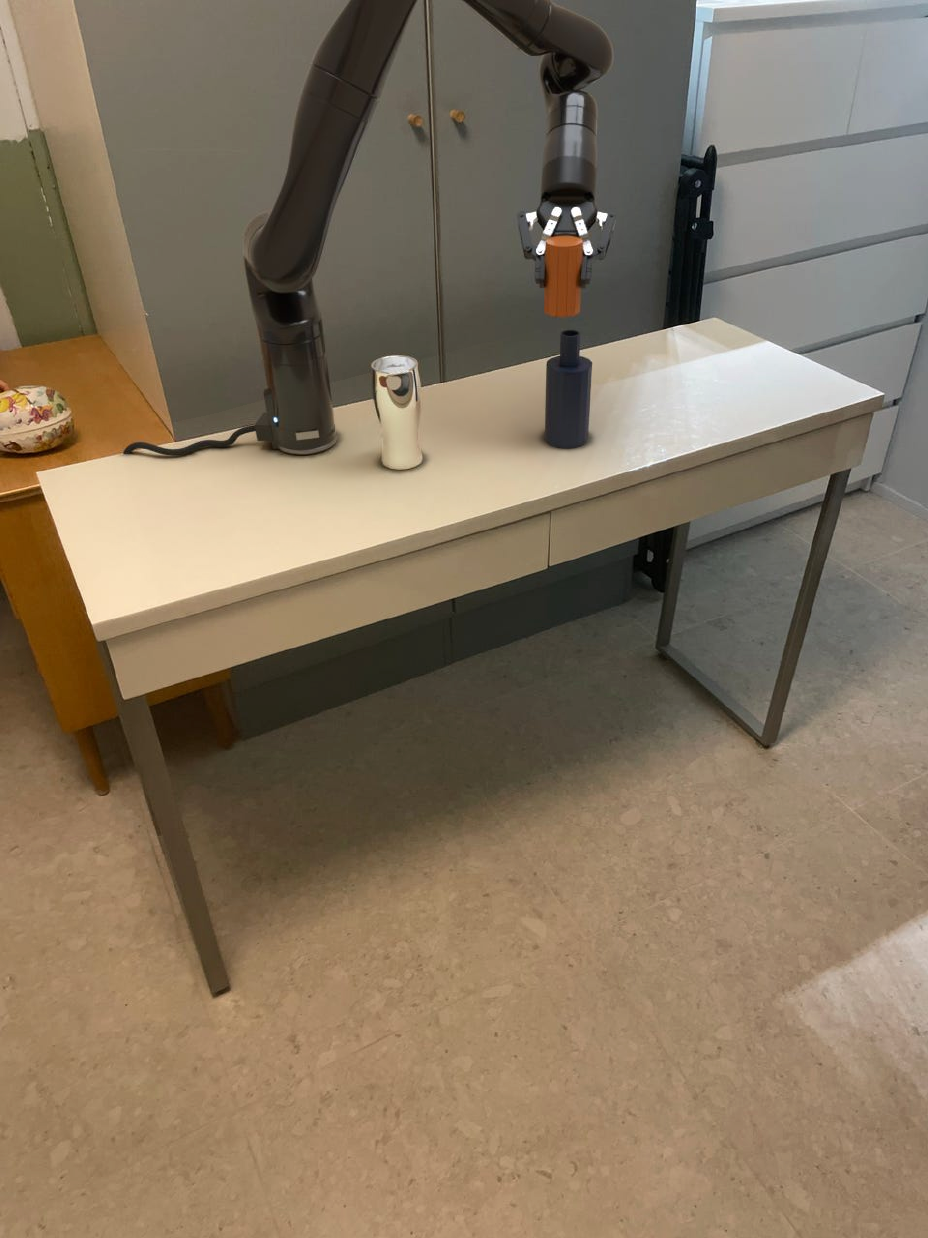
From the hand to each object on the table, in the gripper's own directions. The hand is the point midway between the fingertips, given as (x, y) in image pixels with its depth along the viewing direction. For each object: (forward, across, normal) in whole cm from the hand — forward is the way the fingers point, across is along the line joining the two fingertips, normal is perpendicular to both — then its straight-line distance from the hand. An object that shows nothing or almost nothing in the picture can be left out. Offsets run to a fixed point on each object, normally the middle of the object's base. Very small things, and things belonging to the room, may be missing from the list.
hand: (562, 285), depth 128 cm
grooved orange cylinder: (+2, 0, +4) cm, 4 cm away
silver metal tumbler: (+22, -23, +12) cm, 34 cm away
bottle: (+16, +1, +18) cm, 24 cm away
